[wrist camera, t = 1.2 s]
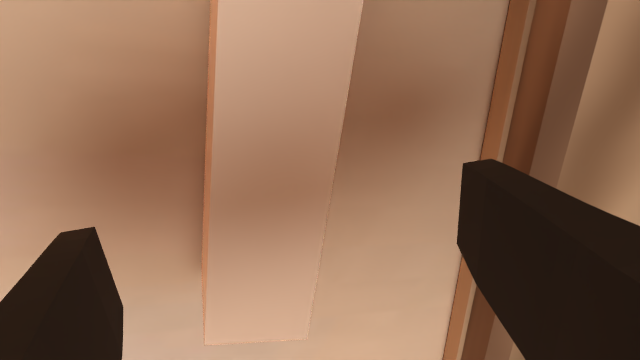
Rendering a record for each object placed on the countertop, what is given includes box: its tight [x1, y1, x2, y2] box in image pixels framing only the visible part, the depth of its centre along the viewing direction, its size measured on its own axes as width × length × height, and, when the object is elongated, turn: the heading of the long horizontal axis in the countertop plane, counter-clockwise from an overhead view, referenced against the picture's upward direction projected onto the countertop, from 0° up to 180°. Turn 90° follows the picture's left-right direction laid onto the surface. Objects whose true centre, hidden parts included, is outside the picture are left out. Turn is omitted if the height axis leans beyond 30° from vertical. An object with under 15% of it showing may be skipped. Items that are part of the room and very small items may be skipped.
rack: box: [443, 0, 640, 360], centre depth 19 cm, size 8×20×2 cm, turn 179°
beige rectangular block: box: [201, 0, 364, 345], centre depth 15 cm, size 3×12×4 cm, turn 172°
